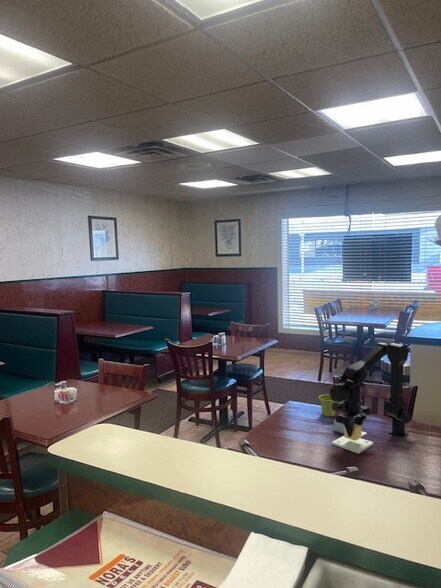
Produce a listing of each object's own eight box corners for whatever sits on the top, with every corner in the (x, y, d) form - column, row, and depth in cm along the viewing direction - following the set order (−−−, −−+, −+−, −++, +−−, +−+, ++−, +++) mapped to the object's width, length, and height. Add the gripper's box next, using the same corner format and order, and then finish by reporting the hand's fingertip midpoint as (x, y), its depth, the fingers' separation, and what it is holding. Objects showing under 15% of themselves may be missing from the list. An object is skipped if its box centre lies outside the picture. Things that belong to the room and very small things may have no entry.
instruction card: (356, 430, 195) (356, 429, 195) (367, 433, 191) (367, 432, 191) (349, 433, 191) (349, 433, 191) (360, 437, 187) (360, 436, 187)
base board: (347, 436, 188) (347, 433, 188) (373, 444, 180) (373, 441, 180) (331, 444, 180) (331, 441, 180) (358, 453, 171) (358, 450, 171)
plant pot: (340, 413, 216) (341, 396, 215) (334, 419, 208) (335, 401, 207) (322, 410, 221) (322, 393, 220) (316, 415, 213) (316, 398, 212)
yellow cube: (361, 437, 180) (361, 425, 179) (355, 440, 176) (355, 428, 176) (350, 433, 183) (350, 422, 183) (344, 437, 180) (344, 425, 179)
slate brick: (339, 427, 198) (339, 416, 198) (349, 430, 195) (349, 419, 194) (333, 430, 195) (333, 419, 194) (343, 433, 191) (343, 422, 191)
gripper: (347, 388, 191) (347, 423, 192) (324, 398, 178) (323, 435, 179) (371, 394, 183) (370, 430, 184) (348, 404, 170) (347, 443, 171)
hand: (352, 434), depth 180 cm, fingers closed on yellow cube, 5 cm apart
